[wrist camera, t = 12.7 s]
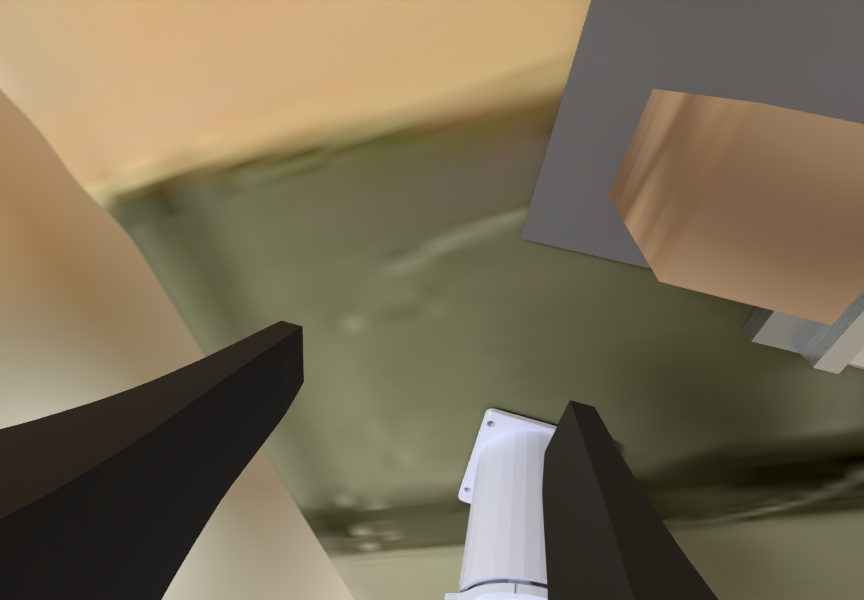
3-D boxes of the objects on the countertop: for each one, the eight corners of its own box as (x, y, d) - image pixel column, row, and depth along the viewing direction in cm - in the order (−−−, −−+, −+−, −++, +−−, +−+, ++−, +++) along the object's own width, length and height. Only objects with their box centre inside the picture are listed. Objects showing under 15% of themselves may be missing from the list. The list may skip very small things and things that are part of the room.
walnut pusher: (706, 218, 16) (831, 325, 9) (607, 195, 16) (659, 281, 10) (767, 112, 14) (988, 150, 7) (652, 88, 14) (759, 102, 7)
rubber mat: (743, 287, 17) (747, 291, 17) (521, 235, 18) (520, 238, 18) (930, 11, 12) (941, 9, 12) (603, -39, 13) (604, -42, 13)
